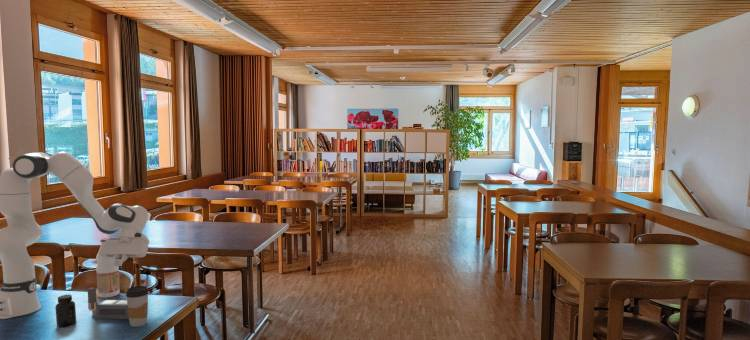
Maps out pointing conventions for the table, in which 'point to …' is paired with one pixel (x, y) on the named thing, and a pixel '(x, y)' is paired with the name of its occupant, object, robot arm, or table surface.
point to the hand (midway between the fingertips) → (117, 264)
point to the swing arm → (92, 298)
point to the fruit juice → (107, 275)
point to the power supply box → (111, 310)
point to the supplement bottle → (65, 311)
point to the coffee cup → (137, 305)
